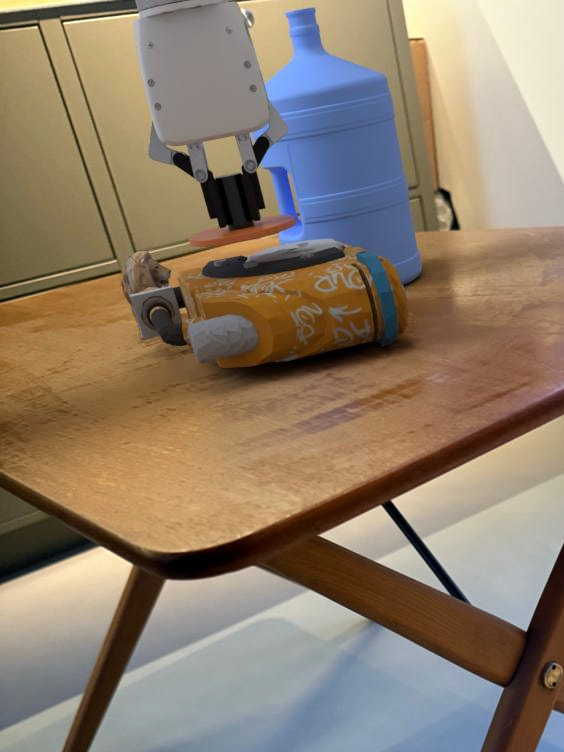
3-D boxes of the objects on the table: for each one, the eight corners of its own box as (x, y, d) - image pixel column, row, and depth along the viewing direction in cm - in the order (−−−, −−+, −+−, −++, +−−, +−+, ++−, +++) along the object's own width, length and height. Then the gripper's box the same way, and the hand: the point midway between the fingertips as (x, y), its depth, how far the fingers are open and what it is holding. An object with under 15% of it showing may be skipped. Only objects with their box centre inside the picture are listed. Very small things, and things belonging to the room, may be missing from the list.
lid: (186, 252, 92) (168, 191, 90) (194, 236, 101) (178, 180, 98) (296, 230, 93) (282, 169, 90) (296, 216, 102) (282, 160, 99)
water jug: (435, 263, 127) (390, -4, 113) (406, 294, 114) (350, -4, 100) (315, 279, 130) (257, 22, 116) (273, 310, 117) (201, 25, 103)
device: (140, 312, 83) (118, 266, 108) (172, 412, 87) (144, 345, 112) (407, 250, 88) (327, 219, 113) (425, 347, 92) (344, 297, 117)
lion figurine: (191, 333, 114) (166, 247, 109) (143, 345, 112) (115, 259, 108) (170, 313, 126) (146, 235, 121) (126, 324, 124) (100, 246, 120)
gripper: (274, -22, 91) (324, 201, 100) (91, 11, 90) (158, 234, 99) (273, -29, 85) (327, 210, 94) (76, 7, 84) (149, 245, 93)
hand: (240, 220), depth 96 cm, fingers closed on lid, 2 cm apart
